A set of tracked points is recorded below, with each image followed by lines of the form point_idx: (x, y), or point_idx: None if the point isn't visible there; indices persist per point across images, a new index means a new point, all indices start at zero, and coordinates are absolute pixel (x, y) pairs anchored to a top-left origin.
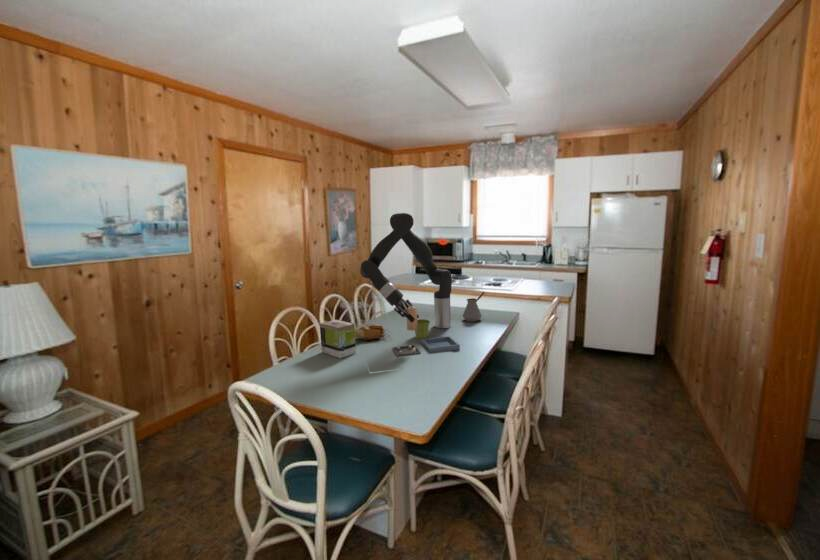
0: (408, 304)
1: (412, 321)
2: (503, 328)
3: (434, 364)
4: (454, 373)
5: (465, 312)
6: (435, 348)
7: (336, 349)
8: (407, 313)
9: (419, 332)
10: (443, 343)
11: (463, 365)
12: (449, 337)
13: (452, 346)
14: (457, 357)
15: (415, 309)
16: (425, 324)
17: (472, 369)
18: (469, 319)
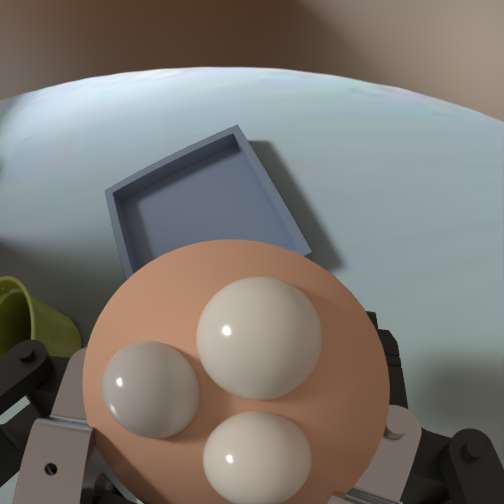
0: (41, 490)
1: None
2: (44, 88)
3: (447, 217)
4: (486, 146)
5: None
6: (296, 225)
7: None
8: (415, 436)
9: (62, 349)
10: (164, 215)
11: (416, 119)
12: (123, 185)
13: (253, 151)
14: (341, 138)
15: (302, 262)
16: (31, 301)
17: (435, 98)
18: None
